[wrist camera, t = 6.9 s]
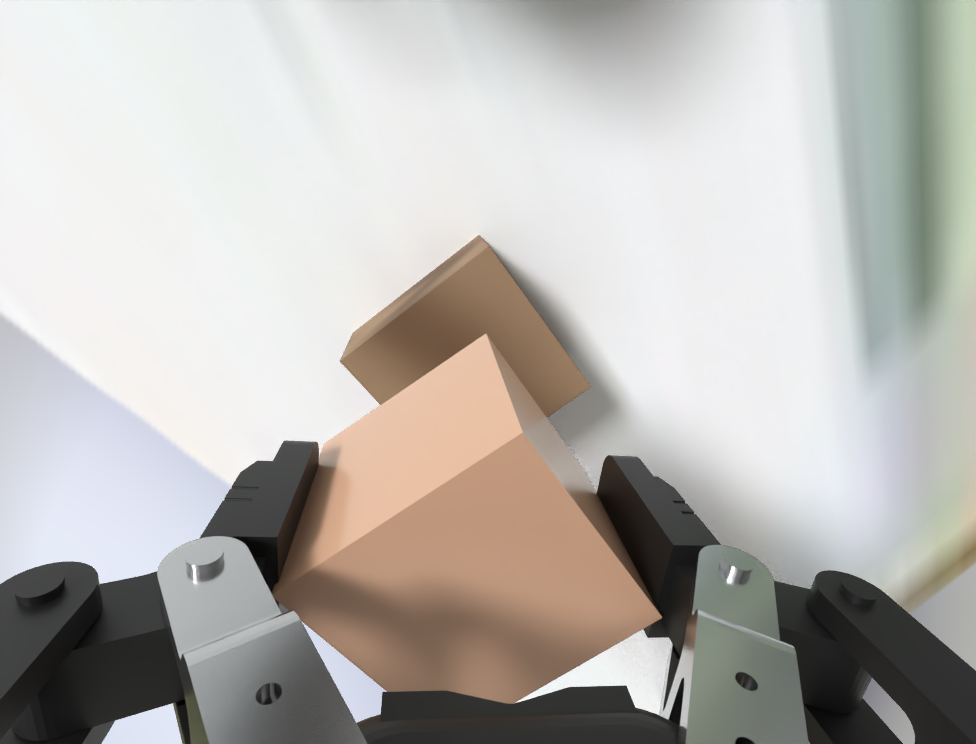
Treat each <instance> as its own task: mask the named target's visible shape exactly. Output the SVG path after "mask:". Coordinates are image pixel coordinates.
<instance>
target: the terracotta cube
mask: <svg viewBox="0 0 976 744" xmlns="http://www.w3.org/2000/svg"><path fill="white" fill-rule="evenodd" d="M272 596H273V598H274V599H276V600H277V601H278V602H279V603H280V604H282V605H283V606H284V607H285V608H286V609H288V610H289V611H290V610H293V611H294V612H296V614H297V615H298V616H299V618H300V620H301V621H302V622H303V623H305V624H306V625H307V626H308V627H309V628H311V629H312V630H313V631H314V632H316V633H317V634H318V635H319V636H320V637H322V638H323V639H324V640H325V641H326V642H328V643H329V644H330V645H331V646H333V647H334V648H335V649H336V650H338V651H339V652H340V653H341V654H342V655H343V656H345V657H346V658H347V659H348V660H350V661H351V662H352V663H353V664H354V665H356V666H357V667H358V668H359V669H360V670H362V671H363V672H364V673H365V674H366V675H368V676H369V677H370V678H371V679H373V680H374V681H375V682H376V683H377V684H379V685H380V686H381V687H382V688H384V689H385V690H386V691H387V692H402V691H441V690H446V691H451V692H456V693H460V694H465V695H469V696H474V697H479V698H483V699H488V700H493V701H497V702H502V703H508V704H513V703H515V702H517V701H518V700H520V699H522V698H523V697H525V696H527V695H529V694H530V693H532V692H534V691H536V690H537V689H539V688H541V687H543V686H544V685H546V684H548V683H550V682H551V681H553V680H555V679H557V678H558V677H560V676H562V675H564V674H565V673H567V672H569V671H571V670H572V669H574V668H576V667H577V666H579V665H581V664H583V663H584V662H586V661H588V660H590V659H591V658H593V657H595V656H597V655H598V654H600V653H602V652H604V651H605V650H607V649H609V648H611V647H612V646H614V645H616V644H618V643H619V642H621V641H623V640H625V639H626V638H628V637H630V636H631V635H633V634H635V633H637V632H638V631H640V630H642V629H644V628H645V627H647V626H649V625H651V624H652V623H654V622H656V621H658V620H659V619H661V618H662V616H661V614H660V612H659V610H658V609H657V607H656V606H655V604H654V602H653V600H652V598H651V596H650V594H649V592H648V590H647V588H646V587H645V585H644V583H643V581H642V579H641V577H640V575H639V573H638V571H637V569H636V567H635V566H634V564H633V562H632V560H631V558H630V556H629V554H628V552H627V550H626V548H625V546H624V545H623V543H622V541H621V539H620V537H619V535H618V533H617V531H616V529H615V527H614V525H613V524H612V522H611V520H610V518H609V516H608V514H607V512H606V510H605V508H604V506H603V504H602V503H601V501H600V499H599V497H598V495H597V492H596V490H595V488H594V486H593V485H592V483H591V481H590V479H589V477H588V475H587V473H586V472H585V470H584V469H583V467H582V466H581V465H580V463H579V462H578V460H577V459H576V458H575V456H574V455H573V453H572V452H571V451H570V449H569V448H568V446H567V445H566V444H565V442H564V441H563V440H562V438H561V437H560V435H559V434H558V433H557V431H556V430H555V428H554V427H553V426H552V424H551V423H550V421H549V420H548V419H547V417H546V416H545V415H544V413H543V412H542V410H541V409H540V408H539V406H538V405H537V403H536V402H535V401H534V399H533V398H532V396H531V395H530V394H529V392H528V391H527V389H526V388H525V387H524V385H523V384H522V383H521V381H520V380H519V378H518V377H517V376H516V374H515V373H514V371H513V370H512V369H511V367H510V366H509V364H508V363H507V362H506V360H505V359H504V357H503V356H502V355H501V353H500V352H499V351H498V349H497V348H496V346H495V345H494V344H493V342H492V341H491V339H490V338H489V337H488V335H487V334H484V335H483V336H481V337H480V338H478V339H477V340H476V341H474V342H473V343H471V344H470V345H468V346H467V347H465V348H464V349H462V350H461V351H459V352H458V353H456V354H455V355H454V356H452V357H451V358H449V359H448V360H446V361H445V362H443V363H442V364H440V365H439V366H437V367H436V368H435V369H433V370H432V371H430V372H429V373H427V374H426V375H424V376H423V377H421V378H420V379H418V380H417V381H415V382H414V383H413V384H411V385H410V386H408V387H407V388H405V389H404V390H402V391H401V392H399V393H398V394H396V395H395V396H393V397H392V398H391V399H389V400H388V401H386V402H385V403H383V404H382V405H380V406H379V407H377V408H376V409H374V410H373V411H371V412H370V413H369V414H367V415H366V416H364V417H363V418H361V419H360V420H358V421H357V422H355V423H354V424H352V425H351V426H350V427H348V428H347V429H345V430H344V431H342V432H341V433H339V434H338V435H336V436H335V437H333V438H332V439H330V440H329V441H328V442H326V443H325V444H324V445H323V448H322V450H321V453H320V456H319V465H318V468H317V471H316V474H315V477H314V480H313V483H312V486H311V489H310V491H309V494H308V497H307V500H306V503H305V506H304V509H303V512H302V515H301V518H300V521H299V524H298V526H297V529H296V532H295V535H294V538H293V541H292V544H291V547H290V550H289V553H288V556H287V559H286V562H285V564H284V567H283V570H282V573H281V576H280V579H279V582H278V583H276V584H275V585H274V588H273V591H272Z"/></svg>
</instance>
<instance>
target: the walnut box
mask: <svg viewBox="0 0 976 744" xmlns="http://www.w3.org/2000/svg"><path fill="white" fill-rule="evenodd" d="M484 334H487V335H488V337H489V338H490V339H491V341H492V342H493V344H494V345H495V346H496V348H497V349H498V351H499V352H500V353H501V355H502V356H503V357H504V359H505V360H506V362H507V363H508V364H509V366H510V367H511V369H512V370H513V371H514V373H515V374H516V376H517V377H518V378H519V380H520V381H521V383H522V384H523V385H524V387H525V388H526V389H527V391H528V392H529V394H530V395H531V396H532V398H533V399H534V401H535V402H536V403H537V405H538V406H539V408H540V409H541V410H542V412H543V413H544V415H545V416H546V417H549V416H550V415H552V414H553V413H554V412H556V411H557V410H559V409H560V408H562V407H563V406H564V405H566V404H567V403H569V402H570V401H571V400H573V399H574V398H576V397H577V396H578V395H580V394H581V393H583V392H584V391H586V390H587V389H588V388H590V387H591V386H590V385H589V383H588V382H587V381H586V379H585V378H584V376H583V375H582V374H581V372H580V371H579V370H578V368H577V367H576V365H575V364H574V363H573V361H572V360H571V358H570V357H569V356H568V354H567V353H566V352H565V350H564V349H563V347H562V346H561V345H560V343H559V342H558V340H557V339H556V338H555V336H554V335H553V334H552V332H551V331H550V329H549V328H548V327H547V325H546V324H545V322H544V321H543V320H542V318H541V317H540V316H539V314H538V313H537V311H536V310H535V309H534V307H533V306H532V304H531V303H530V302H529V300H528V299H527V298H526V296H525V295H524V293H523V292H522V291H521V289H520V288H519V287H518V285H517V284H516V282H515V281H514V280H513V278H512V277H511V275H510V274H509V273H508V271H507V270H506V269H505V267H504V266H503V264H502V263H501V262H500V260H499V259H498V257H497V256H496V255H495V253H494V252H493V251H492V249H491V248H490V246H489V245H488V244H487V243H486V242H485V241H484V240H483V239H482V238H481V237H480V236H479V235H478V236H477V237H476V238H475V239H473V240H472V241H471V242H469V243H468V244H467V245H465V246H464V247H463V248H462V249H460V250H459V251H458V252H456V253H455V254H454V255H453V256H451V257H450V258H449V259H447V260H446V261H445V262H444V263H442V264H441V265H440V266H438V267H437V268H436V269H435V270H433V271H432V272H431V273H429V274H428V275H427V276H426V277H424V278H423V279H422V280H420V281H419V282H418V283H417V284H415V285H414V286H413V287H411V288H410V289H409V290H408V291H406V292H405V293H404V294H402V295H401V296H400V297H399V298H397V299H396V300H395V301H393V302H392V303H391V304H390V305H388V306H387V307H386V308H384V309H383V310H382V311H381V312H379V313H378V314H377V315H375V316H374V317H373V318H372V319H370V320H369V321H368V322H366V323H365V324H364V325H363V326H361V327H360V328H359V329H357V330H356V331H355V332H354V333H353V334H352V336H351V338H350V340H349V342H348V344H347V347H346V349H345V351H344V353H343V355H342V357H341V360H340V362H341V363H342V364H343V365H344V366H345V367H346V368H347V369H348V370H349V372H350V373H351V374H352V375H353V376H354V377H355V378H356V379H357V380H358V381H359V382H360V383H361V384H362V386H363V387H364V388H365V389H366V390H367V391H368V392H369V393H370V394H371V395H372V396H373V397H374V398H375V399H376V401H377V402H378V403H379V404H380V405H382V404H383V403H385V402H386V401H388V400H389V399H391V398H392V397H393V396H395V395H396V394H398V393H399V392H401V391H402V390H404V389H405V388H407V387H408V386H410V385H411V384H413V383H414V382H415V381H417V380H418V379H420V378H421V377H423V376H424V375H426V374H427V373H429V372H430V371H432V370H433V369H435V368H436V367H437V366H439V365H440V364H442V363H443V362H445V361H446V360H448V359H449V358H451V357H452V356H454V355H455V354H456V353H458V352H459V351H461V350H462V349H464V348H465V347H467V346H468V345H470V344H471V343H473V342H474V341H476V340H477V339H478V338H480V337H481V336H483V335H484Z"/></svg>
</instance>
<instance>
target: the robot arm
mask: <svg viewBox="0 0 976 744" xmlns="http://www.w3.org/2000/svg"><path fill="white" fill-rule="evenodd" d="M318 465H319V447H318V443H317V442H305V441H284V442H283V443H282V445H281V447H280V449H279V451H278V453H277V455H276V456H275V458H274V460H273V461H257V462H255V463H254V464H252V465H251V466H249V467H248V468H246V469H245V470H243V471H242V472H240V474H239V476H238V477H237V479H236V481H235V482H234V484H233V485H232V489H230V490H229V492H228V494H227V495H226V497H225V500H224V501H223V502H222V503H221V505H220V506H219V508H218V510H217V511H216V513H215V514H214V516H213V518H212V519H211V521H210V522H209V524H208V526H207V527H206V529H205V531H204V532H203V534H202V535H201V537H200V539H196V540H193V541H191V542H188V543H185V544H183V545H181V546H179V547H178V548H176V549H174V550H173V551H172V552H170V553H169V554H168V555H167V556H166V557H165V558H164V559H163V560H162V562H161V563H160V565H159V567H158V571H157V572H154V573H151V574H147V575H143V576H139V577H134V578H129V579H124V580H119V581H114V582H109V583H103V584H99V579H98V573H97V572H96V570H95V569H94V568H93V567H92V566H90V565H87V564H84V563H81V562H57V563H51V564H46V565H42V566H39V567H35V568H32V569H29V570H27V571H25V572H22V573H20V574H17V575H15V576H13V577H12V578H10V579H8V580H6V581H5V582H3V583H2V584H0V744H101V743H102V741H103V739H104V738H105V737H106V735H107V733H108V732H109V730H110V728H111V727H112V725H113V723H114V721H115V720H118V719H121V718H125V717H128V716H131V715H135V714H138V713H141V712H144V711H148V710H151V709H154V708H158V707H161V706H165V705H168V704H171V703H173V705H174V710H175V713H176V718H177V722H178V727H179V731H180V734H181V739H182V743H183V744H809V743H810V744H903V743H902V742H901V741H900V740H899V739H898V738H897V737H896V735H895V734H894V733H893V732H892V731H891V730H890V729H889V728H888V726H887V725H886V724H885V723H884V722H883V721H882V720H881V719H880V717H879V716H878V715H877V714H876V713H875V712H874V711H873V710H872V708H871V707H870V706H869V705H868V704H867V703H866V702H865V701H864V699H863V698H862V697H863V695H864V693H865V691H866V689H867V687H868V685H869V683H870V681H871V678H873V679H874V680H875V681H876V682H877V683H878V684H879V685H880V686H881V687H882V688H883V689H884V690H885V691H886V692H887V694H889V696H890V697H891V698H892V699H893V700H894V701H895V702H896V703H897V704H898V705H899V706H900V707H901V708H902V710H903V711H904V712H905V713H906V715H907V716H908V718H909V720H910V721H911V724H912V726H913V729H914V733H915V744H976V671H975V670H974V669H973V668H972V667H970V666H969V665H968V664H967V663H966V662H965V661H964V660H962V659H961V658H960V657H959V656H958V655H956V654H955V653H954V652H953V651H952V650H951V649H949V648H948V647H947V646H946V645H945V644H944V643H942V642H941V641H940V640H939V639H938V638H937V637H936V636H934V635H933V634H932V633H931V632H930V631H929V630H927V629H926V628H925V627H924V626H923V625H922V624H920V623H919V622H918V621H917V620H916V619H914V618H913V617H912V616H911V615H910V614H909V613H907V612H906V611H905V610H904V609H903V608H902V607H900V606H899V605H898V604H897V603H896V602H895V601H893V600H892V599H891V598H890V597H889V596H888V595H886V594H885V593H884V592H883V591H881V590H880V589H878V588H877V587H875V586H874V585H872V584H870V583H869V582H867V581H865V580H863V579H861V578H858V577H856V576H853V575H850V574H847V573H843V572H839V571H822V572H820V573H818V574H817V575H816V577H815V580H814V582H813V585H812V587H811V590H810V589H806V588H802V587H798V586H793V585H789V584H785V583H781V582H777V581H774V580H773V576H772V574H771V572H770V571H769V570H768V568H767V567H766V566H765V565H764V564H762V563H761V562H760V561H759V560H757V559H756V558H755V557H753V556H751V555H749V554H748V553H746V552H744V551H741V550H739V549H736V548H733V547H729V546H724V545H721V544H720V543H719V542H718V541H717V539H716V538H715V537H714V536H713V535H712V533H711V532H710V531H709V530H708V528H707V527H706V526H705V525H704V524H703V522H702V521H701V520H700V519H699V517H698V516H697V515H696V514H694V511H693V510H692V509H691V508H690V507H689V505H688V504H685V500H684V499H683V498H682V497H681V496H680V494H679V493H678V492H677V491H676V490H675V488H673V487H672V486H670V485H669V484H668V483H666V482H665V481H663V480H662V479H660V478H659V477H654V476H653V475H652V474H651V473H650V471H649V470H648V469H647V468H646V466H645V465H644V464H643V462H642V461H641V460H640V459H639V458H638V457H632V456H607V457H606V458H605V460H604V463H603V467H602V472H601V476H600V481H599V486H598V491H597V495H598V497H599V499H600V501H601V503H602V504H603V506H604V508H605V510H606V512H607V514H608V516H609V518H610V520H611V522H612V524H613V525H614V527H615V529H616V531H617V533H618V535H619V537H620V539H621V541H622V543H623V545H624V546H625V548H626V550H627V552H628V554H629V556H630V558H631V560H632V562H633V564H634V566H635V567H636V569H637V571H638V573H639V575H640V577H641V579H642V581H643V583H644V585H645V587H646V588H647V590H648V592H649V594H650V596H651V598H652V600H653V602H654V604H655V606H656V607H657V609H658V610H659V612H660V614H661V616H662V618H661V619H659V620H658V621H656V622H654V623H652V624H651V625H649V626H647V627H645V628H644V631H645V633H646V635H647V637H648V638H654V637H669V638H670V640H671V642H672V646H671V649H670V653H669V656H668V660H667V667H666V673H665V680H664V686H663V693H662V699H661V706H660V712H659V715H657V714H654V713H651V712H648V711H645V710H642V709H638V708H635V706H634V703H633V701H632V699H631V696H630V694H629V691H628V689H627V686H594V687H568V688H565V689H562V690H558V691H555V692H552V693H548V694H545V695H542V696H538V697H535V698H532V699H529V700H525V701H522V702H519V703H514V704H508V703H502V702H497V701H493V700H488V699H483V698H479V697H474V696H469V695H465V694H460V693H456V692H451V691H446V690H441V691H402V692H383V694H382V707H381V714H380V715H377V716H374V717H370V718H367V719H365V720H362V721H360V722H358V723H356V722H355V720H354V718H353V716H352V714H351V712H350V710H349V709H348V707H347V705H346V704H345V701H344V699H343V698H342V696H341V694H340V692H339V690H338V688H337V686H336V684H335V683H334V681H333V679H332V677H331V675H330V673H329V672H328V670H327V668H326V666H325V664H324V662H323V661H322V659H321V657H320V655H319V653H318V652H317V649H316V648H315V646H314V644H313V642H312V640H311V638H310V636H309V635H308V633H307V631H306V629H305V627H304V625H303V624H302V622H301V620H300V618H299V616H298V615H297V614H296V612H294V611H293V610H290V611H289V610H288V609H286V608H285V607H284V606H283V605H282V604H280V603H279V602H278V601H277V600H276V599H274V598H273V596H272V591H273V588H274V585H275V584H276V583H278V582H279V579H280V576H281V573H282V570H283V567H284V564H285V562H286V559H287V556H288V553H289V550H290V547H291V544H292V541H293V538H294V535H295V532H296V529H297V526H298V524H299V521H300V518H301V515H302V512H303V509H304V506H305V503H306V500H307V497H308V494H309V491H310V489H311V486H312V483H313V480H314V477H315V474H316V471H317V468H318ZM808 741H809V743H808Z"/></svg>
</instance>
